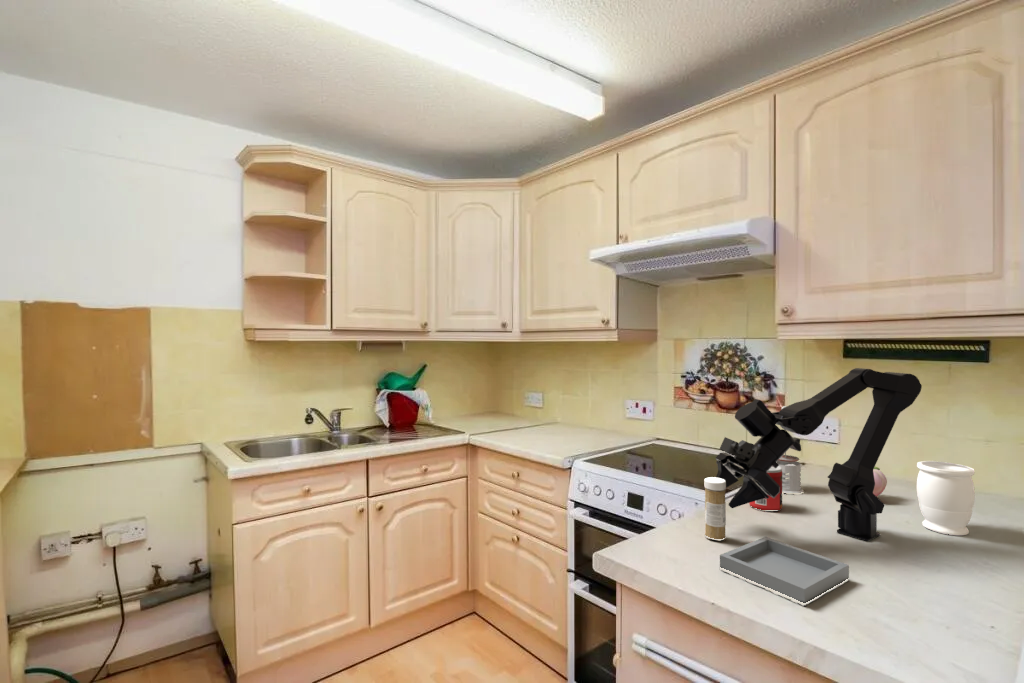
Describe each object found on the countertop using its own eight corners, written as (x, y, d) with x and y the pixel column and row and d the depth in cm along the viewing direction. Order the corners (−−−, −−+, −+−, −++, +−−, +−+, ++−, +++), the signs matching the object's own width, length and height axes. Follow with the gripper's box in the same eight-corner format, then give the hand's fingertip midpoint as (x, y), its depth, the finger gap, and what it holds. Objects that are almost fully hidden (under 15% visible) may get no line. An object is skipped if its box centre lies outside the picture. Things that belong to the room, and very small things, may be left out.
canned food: (788, 512, 129) (787, 470, 129) (757, 512, 129) (756, 470, 129) (773, 502, 137) (773, 462, 137) (743, 502, 137) (743, 462, 137)
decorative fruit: (857, 492, 145) (857, 457, 145) (890, 499, 139) (890, 463, 139) (843, 498, 140) (843, 462, 140) (877, 506, 133) (877, 469, 133)
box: (848, 580, 93) (848, 564, 93) (804, 606, 84) (804, 589, 84) (765, 550, 106) (765, 536, 106) (719, 570, 98) (719, 554, 98)
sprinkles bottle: (711, 532, 116) (710, 475, 116) (730, 538, 113) (729, 479, 113) (700, 537, 113) (700, 479, 113) (719, 544, 110) (719, 483, 110)
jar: (916, 517, 125) (916, 458, 124) (973, 527, 118) (972, 464, 118) (916, 530, 116) (916, 466, 116) (976, 542, 110) (976, 474, 110)
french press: (785, 496, 142) (784, 409, 142) (755, 484, 153) (754, 403, 153) (812, 493, 145) (812, 407, 144) (781, 482, 156) (781, 402, 156)
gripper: (723, 419, 122) (679, 464, 122) (766, 433, 104) (714, 487, 103) (754, 450, 123) (710, 496, 122) (802, 470, 104) (751, 524, 104)
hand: (720, 499), depth 113 cm, fingers open, 9 cm apart
